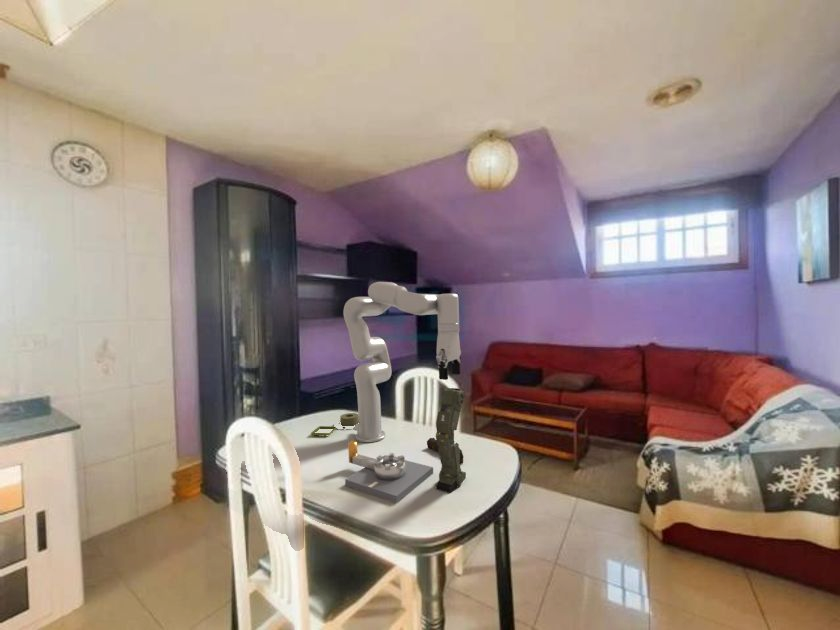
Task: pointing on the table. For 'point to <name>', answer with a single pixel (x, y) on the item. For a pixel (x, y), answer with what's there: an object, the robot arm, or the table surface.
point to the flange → (349, 419)
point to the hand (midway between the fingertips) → (450, 376)
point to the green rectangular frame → (323, 428)
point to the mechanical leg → (449, 440)
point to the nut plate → (390, 481)
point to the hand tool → (433, 445)
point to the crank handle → (379, 463)
